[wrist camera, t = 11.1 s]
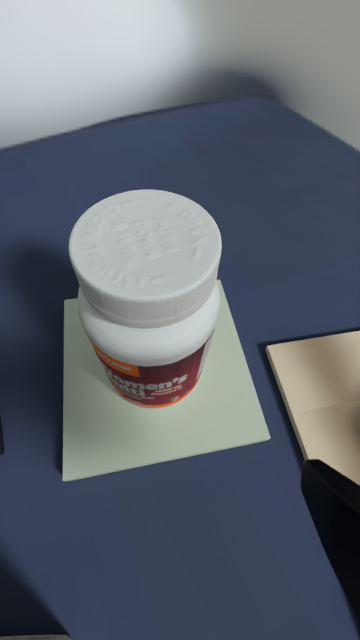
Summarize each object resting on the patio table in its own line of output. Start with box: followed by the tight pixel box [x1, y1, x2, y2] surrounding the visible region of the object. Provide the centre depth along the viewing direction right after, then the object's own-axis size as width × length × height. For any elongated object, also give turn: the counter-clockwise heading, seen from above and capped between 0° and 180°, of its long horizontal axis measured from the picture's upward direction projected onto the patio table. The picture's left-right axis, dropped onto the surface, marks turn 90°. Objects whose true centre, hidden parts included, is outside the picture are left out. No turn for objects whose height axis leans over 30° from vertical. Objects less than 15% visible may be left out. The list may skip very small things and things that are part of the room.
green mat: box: [63, 280, 271, 481], centre depth 20 cm, size 12×12×1 cm
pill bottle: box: [69, 190, 222, 409], centre depth 15 cm, size 6×6×11 cm
